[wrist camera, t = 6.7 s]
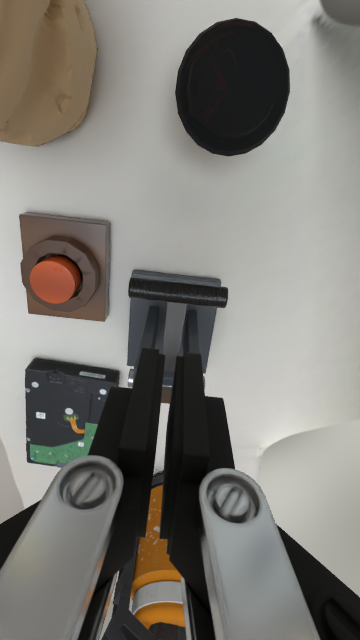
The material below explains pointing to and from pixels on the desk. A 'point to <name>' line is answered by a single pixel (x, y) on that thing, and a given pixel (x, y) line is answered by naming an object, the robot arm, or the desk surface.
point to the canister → (148, 587)
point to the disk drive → (63, 409)
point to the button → (55, 279)
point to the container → (44, 68)
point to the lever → (175, 313)
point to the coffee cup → (232, 87)
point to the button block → (76, 245)
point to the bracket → (152, 319)
